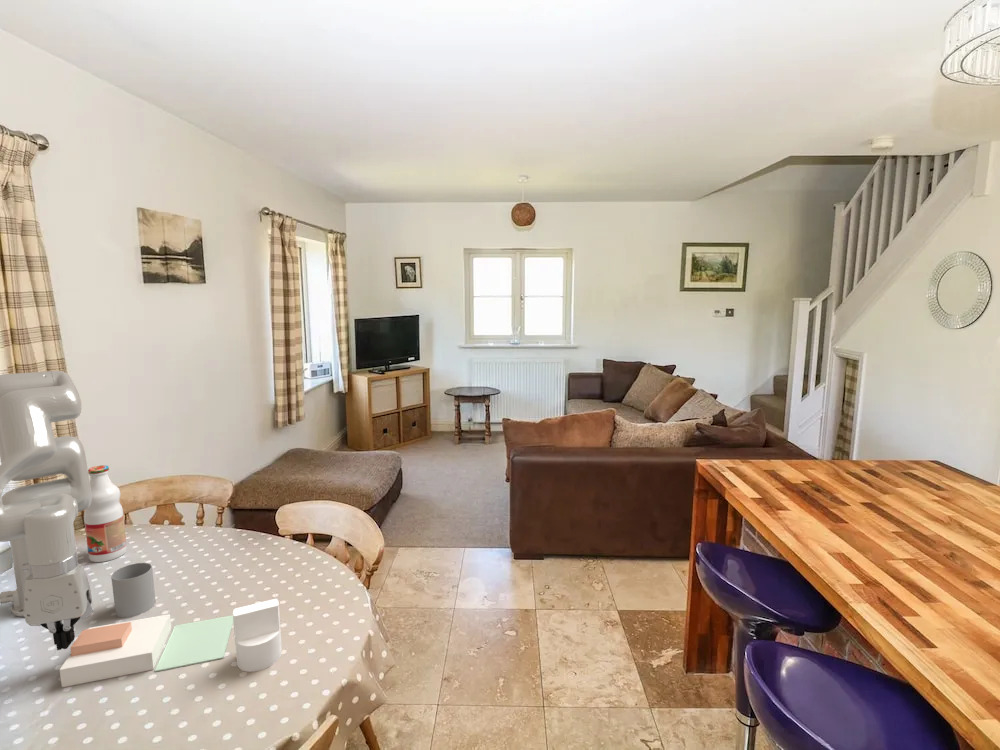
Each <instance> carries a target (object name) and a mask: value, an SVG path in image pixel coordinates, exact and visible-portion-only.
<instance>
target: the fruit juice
mask: <svg viewBox="0 0 1000 750" xmlns="http://www.w3.org/2000/svg"><path fill="white" fill-rule="evenodd" d="M109 471H110V468H109V465H95V466H92V467H90V468H88V475H89V481H90V487H91V494H92V501H91V504H90V506H89V507H88V508H87V509H85V510H84V513H83V522H84V529H85V537H86V545H87V554H88V559H89V560H90V561H91V562H93V563H103V562H109V561H112V560H115V559H118V558H120V557H122V556H123V555H125V554H126V553H127V550H128V544H127V543H128V542H127V536H126V535H127V534H126V525H125V516H124V515H125V514H124V509H123V506H122V504H121V502H120V499H121V490H120V488H119V487H118V485H116V484H115V483H113V482H112V480H111V478H110V476H109Z"/></svg>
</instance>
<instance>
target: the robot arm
mask: <svg viewBox="0 0 1000 750" xmlns="http://www.w3.org/2000/svg"><path fill="white" fill-rule="evenodd" d="M81 413H82V400H81V396H80V393H79V390H78V389H77V386H76V385H75V383H74V381H73V379H72V377H70V375H69V373H67V372H65V371H62V370H49V371H46V370H45V371H33V372H22V373H21V372H19V373H17V372H16V373H7V374H0V543H4V542H5V543H7V542H9V543H10V552H11V556H12V557H11V558H12V559H11V560H12V564H13V572H14V579H15V584H16V585H15V586H16V589H15V590H8V591H7V590H5V591H1V592H0V604H1V605H2V604H7V603H13V604H12V605H11V607H10V611H11V613H12V615H13V616H17V617H24V620H25V622H26V624H28V625H29V626H31V627H40V626H41V627H42V628H44V629H46V630H48V632H49V633H50V634H52V636H53V642H54V643H53V644H54V645H56V650H57V651H61V650H62V649H63V650H67V649H69V646H71V644H72V643H74V640H75V639H76V635H75V629H74V626H75V624H76V623H77V622H79V620H83V619H86V618H89V617H90V616H91V615H92V614H93V612H94V610H93V607H92V600H93V599H92V590H91V586H90V581H89V579H88V576H87V573H86V570H85V569H84V566H83V564H81V563H79V558H78V550H77V544H76V543H77V542H76V535H75V528H74V527H75V526H74V522H75V520H76V518H77V517H78V515H79V513H80V512H83V511H85V509H87V508H88V507H89V506H90V504H91V501H92V494H91V487H90V475H89V473H88V469H89V468H88V462H87V457H86V452H85V448H84V445H83V443H82V442H81V440H80V439H79V438H77V437H76V436H72V435H65V436H64V435H63V436H58V437H55V434H54V432H53V431H54V430H53V426H52V423H58V422H65V421H72V420H76V419H77V418H78V417H80V416H81ZM55 475H56V476H57V475H65V476H66V477H64V478H60V479H59V478H58V479H53V480H49V481H48V480H47V481H43V482H37V483H33V484H27V485H23V486H19V487H16V488H12V489H10V490H8V491H7V492H5V493H4V494H3V491H4V489H5V487H6V486H7V484H8V483H10V482H11V481H12V482H22V481H28V480H34V479H39V478H45V477H50V476H55Z"/></svg>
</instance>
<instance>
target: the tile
mask: <svg viewBox="0 0 1000 750" xmlns="http://www.w3.org/2000/svg"><path fill="white" fill-rule="evenodd" d="M131 631H132V626H131V622H128V623H122V624H116V625H110V626H104V627H98V628H92V629H89V628H87V629H83V630H82V631H81V632H80V633H79V635H78V636H77V637H76V638H75V639H74V640H75V641H73V642H72V645H70V654H71V656H76V655H81V654H86V653H92V652H97V651H103V650H108V649H114V648H119V647H123V645H124V643H125V641H126V640H127V638H128V636H129V634H130V633H131Z"/></svg>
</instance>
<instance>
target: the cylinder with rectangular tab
mask: <svg viewBox="0 0 1000 750" xmlns="http://www.w3.org/2000/svg"><path fill="white" fill-rule="evenodd" d="M232 615H233V620H234V622H233V630H234V643H235V644H234V645H235V652H236V653H235V655H236V657H235V658H236V665H237V667H238V669H240V670H241V671H243V672H250V673H251V672H258V671H262V670H265V669H268V668H269V667H270V666H273V665H274V664H275V663H277V662H278V661H279V659H280V658H281V656H282V654H283V653H282V651H283V650H282V635H281V634H282V632H281V617H280V616H281V615H280V602H279V600H278V598H273V599H268V600H264V601H261V602H256V603H253V604H249V605H244V606H240V607H236V608H233V611H232ZM281 653H282V654H281Z"/></svg>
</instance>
